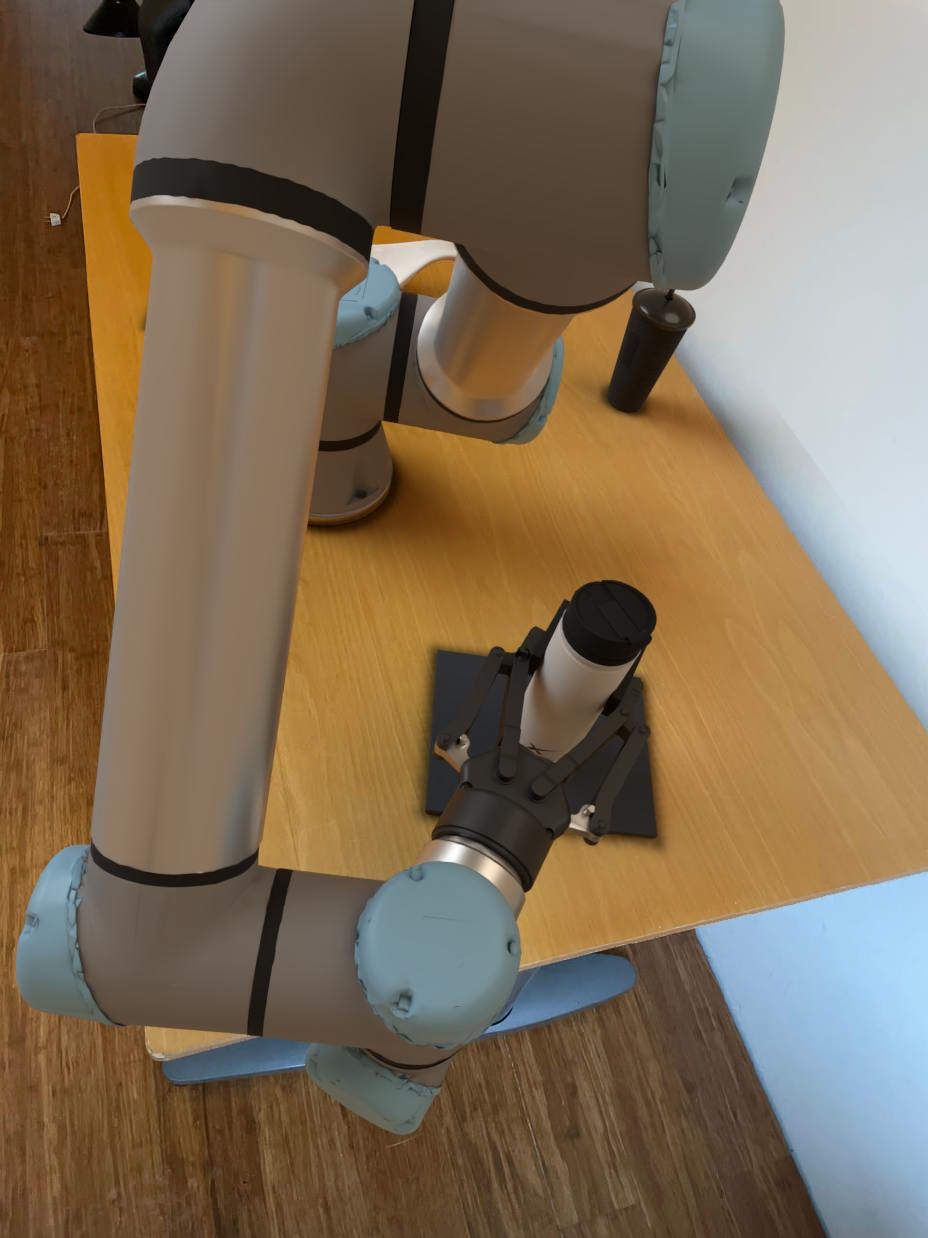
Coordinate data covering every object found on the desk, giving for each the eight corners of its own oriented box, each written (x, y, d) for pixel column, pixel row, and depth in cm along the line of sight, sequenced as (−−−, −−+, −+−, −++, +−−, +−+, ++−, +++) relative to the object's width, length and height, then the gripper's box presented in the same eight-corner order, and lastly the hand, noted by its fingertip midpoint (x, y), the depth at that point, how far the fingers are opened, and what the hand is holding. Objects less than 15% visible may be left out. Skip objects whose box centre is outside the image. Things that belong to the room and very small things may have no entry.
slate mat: (425, 812, 67) (426, 810, 67) (436, 652, 77) (437, 649, 76) (655, 838, 70) (657, 836, 69) (638, 680, 79) (641, 677, 79)
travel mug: (531, 783, 70) (607, 656, 54) (495, 720, 73) (558, 582, 57) (590, 758, 73) (679, 630, 57) (553, 698, 76) (628, 561, 60)
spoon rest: (319, 329, 102) (322, 276, 96) (297, 274, 108) (298, 222, 102) (491, 319, 110) (503, 270, 105) (462, 268, 116) (471, 220, 110)
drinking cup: (651, 426, 103) (719, 283, 87) (593, 409, 103) (651, 263, 87) (654, 390, 108) (720, 248, 92) (599, 374, 107) (655, 228, 91)
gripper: (349, 816, 58) (489, 602, 72) (589, 958, 55) (688, 707, 69) (357, 771, 52) (509, 547, 66) (627, 927, 49) (727, 660, 63)
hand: (600, 630), depth 67 cm, fingers closed on travel mug, 6 cm apart
